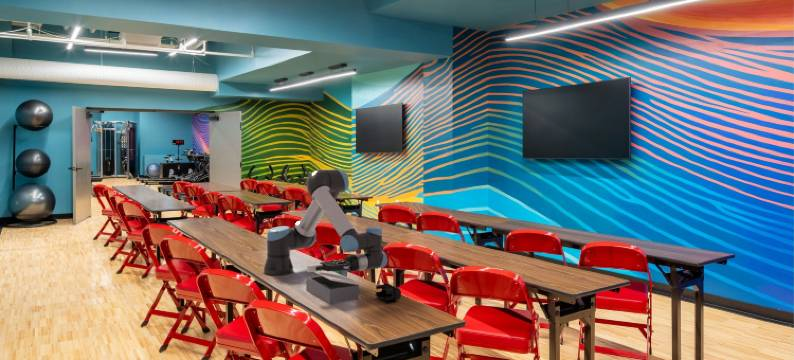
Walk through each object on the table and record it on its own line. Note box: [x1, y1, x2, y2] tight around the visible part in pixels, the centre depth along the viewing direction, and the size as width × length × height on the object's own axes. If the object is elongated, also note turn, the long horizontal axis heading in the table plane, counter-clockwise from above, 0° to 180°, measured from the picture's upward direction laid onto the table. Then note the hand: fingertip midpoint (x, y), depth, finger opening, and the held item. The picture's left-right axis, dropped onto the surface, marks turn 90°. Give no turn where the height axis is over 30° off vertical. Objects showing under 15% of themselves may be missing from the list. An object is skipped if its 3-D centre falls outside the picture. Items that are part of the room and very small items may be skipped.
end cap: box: [375, 282, 402, 305], centre depth 216 cm, size 10×7×7 cm
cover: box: [314, 270, 360, 286], centre depth 223 cm, size 24×14×1 cm, turn 34°
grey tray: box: [305, 275, 360, 305], centre depth 223 cm, size 24×14×6 cm, turn 34°
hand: (307, 268), depth 216 cm, fingers closed
